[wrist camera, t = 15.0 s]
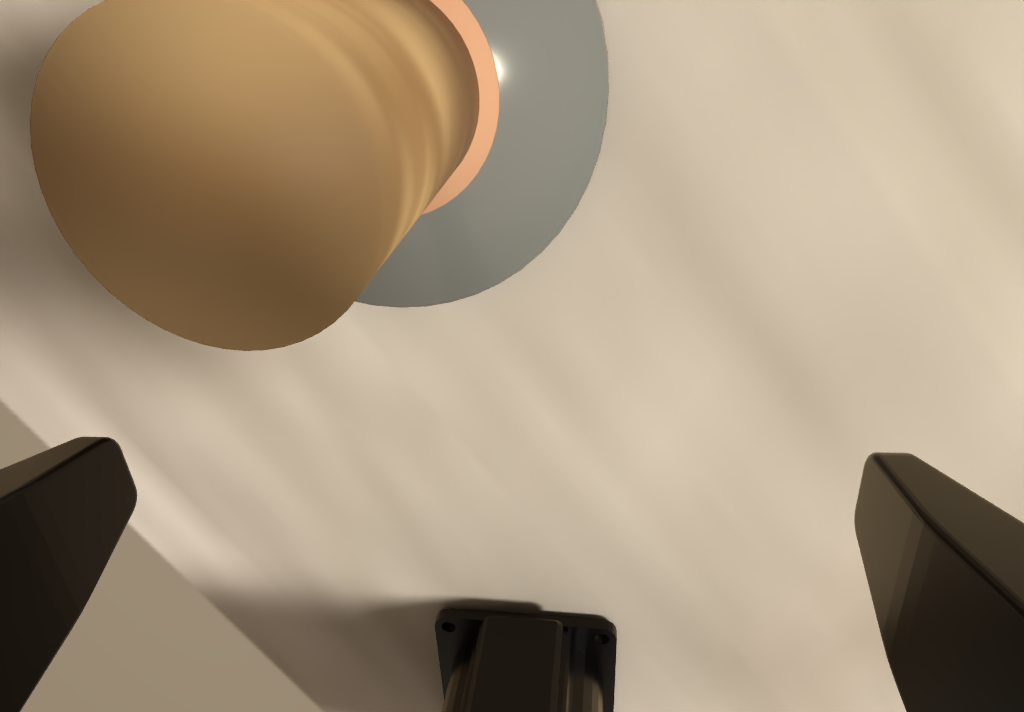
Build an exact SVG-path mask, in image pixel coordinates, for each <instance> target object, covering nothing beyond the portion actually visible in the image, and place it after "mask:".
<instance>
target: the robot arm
mask: <svg viewBox="0 0 1024 712" xmlns="http://www.w3.org/2000/svg"><path fill="white" fill-rule="evenodd" d="M136 501H137V490H136V486H135V484H134V481H133V478H132V476H131V473H130V471H129V468H128V465H127V463H126V460H125V458H124V455H123V453H122V450H121V448H120V446H119V444H118V443H117V442H116V441H115V440H114V439H111V438H109V437H79V438H76V439H73V440H71V441H68V442H66V443H63V444H61V445H58V446H56V447H54V448H51V449H49V450H46V451H44V452H42V453H39V454H37V455H35V456H32V457H30V458H27V459H25V460H22V461H20V462H17V463H15V464H13V465H10V466H8V467H5V468H3V469H0V712H20V711H21V709H22V707H23V706H24V705H25V703H26V701H27V700H28V698H29V697H30V695H31V693H32V691H33V690H34V689H35V687H36V685H37V684H38V682H39V681H40V679H41V677H42V676H43V674H44V673H45V671H46V670H47V668H48V666H49V665H50V663H51V661H52V660H53V658H54V657H55V655H56V654H57V652H58V650H59V649H60V647H61V646H62V644H63V642H64V641H65V639H66V638H67V636H68V635H69V633H70V631H71V630H72V628H73V626H74V624H75V623H76V621H77V619H78V618H79V616H80V614H81V613H82V611H83V609H84V607H85V605H86V603H87V601H88V600H89V598H90V596H91V594H92V592H93V590H94V588H95V586H96V584H97V582H98V580H99V578H100V576H101V574H102V572H103V570H104V568H105V566H106V564H107V562H108V560H109V558H110V556H111V554H112V552H113V550H114V548H115V546H116V544H117V542H118V540H119V538H120V536H121V535H122V533H123V531H124V529H125V527H126V525H127V523H128V521H129V519H130V517H131V515H132V513H133V511H134V508H135V505H136ZM855 531H856V536H857V540H858V544H859V548H860V552H861V556H862V560H863V564H864V568H865V572H866V576H867V580H868V584H869V588H870V592H871V596H872V600H873V604H874V608H875V613H876V617H877V621H878V625H879V629H880V633H881V637H882V641H883V644H884V648H885V652H886V655H887V659H888V662H889V665H890V668H891V671H892V674H893V676H894V679H895V682H896V685H897V688H898V690H899V693H900V696H901V698H902V701H903V703H904V706H905V709H906V711H907V712H1024V523H1023V522H1021V521H1019V520H1018V519H1016V518H1015V517H1013V516H1011V515H1010V514H1008V513H1007V512H1005V511H1003V510H1002V509H1000V508H998V507H997V506H995V505H994V504H992V503H990V502H989V501H987V500H985V499H984V498H982V497H981V496H979V495H977V494H976V493H974V492H973V491H971V490H969V489H968V488H966V487H964V486H963V485H961V484H960V483H958V482H956V481H955V480H953V479H952V478H950V477H948V476H947V475H945V474H943V473H942V472H940V471H939V470H937V469H935V468H934V467H932V466H930V465H929V464H927V463H926V462H924V461H922V460H921V459H919V458H918V457H916V456H914V455H912V454H909V453H877V452H876V453H872V454H871V455H870V456H868V458H867V460H866V462H865V465H864V469H863V474H862V479H861V484H860V489H859V494H858V499H857V504H856V509H855ZM449 622H450V623H449ZM435 630H436V638H437V646H438V653H439V661H440V669H441V677H442V684H443V692H444V700H445V701H444V705H443V709H442V712H613V709H614V687H615V666H616V644H617V630H616V627H615V626H614V624H613V623H611V622H609V621H606V620H598V619H585V618H571V617H557V616H544V615H530V614H517V613H503V612H490V611H476V610H463V609H443V610H441V611H440V612H439V613H438V615H437V619H436V623H435ZM601 634H605V635H601Z"/></svg>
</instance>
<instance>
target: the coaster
mask: <svg viewBox="0 0 1024 712" xmlns="http://www.w3.org/2000/svg"><path fill="white" fill-rule="evenodd" d="M430 1H431V2H432V3H434V4H435V5H436V6H437V7H438V8H439V9H440V10H441V11H442V12H443V13H444V14H445V15H446V16H447V17H448V18H449V20H450V21H451V22H452V23H453V25H454V26H455V27H456V29H457V30H458V32H459V33H460V35H461V36H462V38H463V40H464V42H465V44H466V46H467V48H468V50H469V53H470V55H471V58H472V61H473V63H474V67H475V71H476V75H477V79H478V87H479V116H478V124H477V127H476V131H475V135H474V138H473V141H472V143H471V146H470V148H469V150H468V152H467V154H466V155H465V157H464V159H463V161H462V162H461V163H460V165H459V166H458V167H457V169H456V170H455V171H454V172H453V174H452V175H451V176H450V178H449V179H448V180H447V182H446V183H445V184H444V185H443V187H442V188H441V189H440V191H439V192H438V193H437V195H436V196H435V197H434V198H433V200H432V201H431V202H430V204H429V205H428V206H427V208H426V209H425V210H424V211H423V213H422V214H421V215H420V217H419V218H418V219H417V221H416V222H415V223H414V224H413V226H412V227H411V228H410V230H409V231H408V232H407V234H406V235H405V236H404V237H403V239H402V240H401V241H400V243H399V244H398V245H397V247H396V248H395V249H394V250H393V252H392V253H391V254H390V256H389V257H388V258H387V260H386V261H385V262H384V263H383V265H382V266H381V267H380V269H379V270H378V271H377V273H376V274H375V275H374V276H373V278H372V279H371V280H370V282H369V283H368V284H367V286H366V287H365V288H364V289H363V291H362V292H361V293H360V295H359V296H358V297H357V298H356V300H355V301H356V302H361V303H366V304H371V305H377V306H389V307H421V306H431V305H437V304H442V303H448V302H453V301H456V300H459V299H463V298H466V297H469V296H472V295H475V294H478V293H480V292H482V291H484V290H486V289H489V288H491V287H493V286H495V285H497V284H499V283H501V282H502V281H504V280H506V279H507V278H509V277H510V276H512V275H513V274H515V273H517V272H518V271H520V270H521V269H522V268H524V267H525V266H526V265H527V264H528V263H530V262H531V261H532V260H533V259H534V258H536V257H537V256H538V255H539V254H540V253H541V252H542V251H543V250H544V249H545V248H546V247H547V246H548V245H549V244H550V243H551V241H552V240H553V239H554V238H555V237H556V236H557V235H558V234H559V233H560V231H561V230H562V228H563V227H564V225H565V224H566V223H567V221H568V220H569V218H570V217H571V215H572V214H573V212H574V211H575V210H576V208H577V206H578V204H579V202H580V200H581V198H582V196H583V194H584V192H585V190H586V188H587V186H588V184H589V182H590V179H591V176H592V173H593V170H594V168H595V165H596V162H597V159H598V156H599V153H600V148H601V144H602V139H603V134H604V130H605V125H606V116H607V104H608V93H609V74H608V52H607V46H606V39H605V33H604V27H603V21H602V17H601V14H600V10H599V7H598V3H597V0H430Z"/></svg>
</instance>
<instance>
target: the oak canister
mask: <svg viewBox="0 0 1024 712" xmlns="http://www.w3.org/2000/svg"><path fill="white" fill-rule="evenodd" d="M478 116H479V87H478V79H477V75H476V71H475V67H474V63H473V61H472V58H471V55H470V53H469V50H468V48H467V46H466V44H465V42H464V40H463V38H462V36H461V35H460V33H459V32H458V30H457V29H456V27H455V26H454V25H453V23H452V22H451V21H450V20H449V18H448V17H447V16H446V15H445V14H444V13H443V12H442V11H441V10H440V9H439V8H438V7H437V6H436V5H435V4H434V3H432V2H431V1H430V0H105V1H104V2H102V3H100V4H98V5H96V6H94V7H92V8H90V9H88V10H87V11H86V12H84V13H83V14H82V15H81V16H79V17H78V18H77V19H75V20H74V21H73V22H71V24H70V25H69V26H68V27H67V28H66V29H65V30H64V31H63V32H62V34H61V35H60V36H59V37H58V38H57V39H56V41H55V42H54V44H53V46H52V47H51V49H50V51H49V52H48V54H47V56H46V57H45V59H44V62H43V64H42V67H41V69H40V72H39V74H38V77H37V80H36V84H35V89H34V93H33V97H32V104H31V117H30V132H31V148H32V153H33V159H34V165H35V170H36V173H37V177H38V180H39V183H40V187H41V190H42V193H43V195H44V198H45V200H46V203H47V205H48V207H49V210H50V212H51V215H52V216H53V218H54V220H55V222H56V224H57V226H58V227H59V229H60V231H61V233H62V235H63V236H64V238H65V239H66V241H67V242H68V244H69V245H70V247H71V248H72V250H73V251H74V253H75V254H76V256H77V257H78V258H79V259H80V261H81V262H82V263H83V264H84V265H85V267H86V268H87V269H88V270H89V271H90V273H91V274H92V275H93V276H94V277H95V278H96V279H97V280H98V281H99V282H100V283H101V284H102V285H103V286H104V287H105V288H106V289H107V290H108V291H109V292H110V293H111V294H113V295H114V296H115V297H116V298H117V299H119V300H120V301H121V302H122V303H123V304H125V305H126V306H127V307H129V308H130V309H132V310H133V311H134V312H136V313H137V314H139V315H140V316H142V317H143V318H145V319H146V320H148V321H150V322H152V323H153V324H155V325H157V326H159V327H161V328H162V329H164V330H166V331H169V332H171V333H173V334H176V335H178V336H180V337H182V338H185V339H188V340H191V341H194V342H197V343H201V344H204V345H208V346H213V347H218V348H223V349H231V350H243V351H251V350H268V349H274V348H280V347H285V346H288V345H291V344H294V343H298V342H301V341H303V340H305V339H307V338H310V337H312V336H314V335H316V334H318V333H320V332H321V331H322V330H324V329H325V328H327V327H328V326H330V325H331V324H333V323H334V322H335V321H336V320H337V319H338V318H339V317H341V316H342V315H343V314H344V313H345V312H346V311H347V310H348V309H349V307H350V306H351V305H352V304H353V302H354V301H355V300H356V298H357V297H358V296H359V295H360V293H361V292H362V291H363V289H364V288H365V287H366V286H367V284H368V283H369V282H370V280H371V279H372V278H373V276H374V275H375V274H376V273H377V271H378V270H379V269H380V267H381V266H382V265H383V263H384V262H385V261H386V260H387V258H388V257H389V256H390V254H391V253H392V252H393V250H394V249H395V248H396V247H397V245H398V244H399V243H400V241H401V240H402V239H403V237H404V236H405V235H406V234H407V232H408V231H409V230H410V228H411V227H412V226H413V224H414V223H415V222H416V221H417V219H418V218H419V217H420V215H421V214H422V213H423V211H424V210H425V209H426V208H427V206H428V205H429V204H430V202H431V201H432V200H433V198H434V197H435V196H436V195H437V193H438V192H439V191H440V189H441V188H442V187H443V185H444V184H445V183H446V182H447V180H448V179H449V178H450V176H451V175H452V174H453V172H454V171H455V170H456V169H457V167H458V166H459V165H460V163H461V162H462V161H463V159H464V157H465V155H466V154H467V152H468V150H469V148H470V146H471V143H472V141H473V138H474V135H475V131H476V127H477V124H478Z"/></svg>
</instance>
